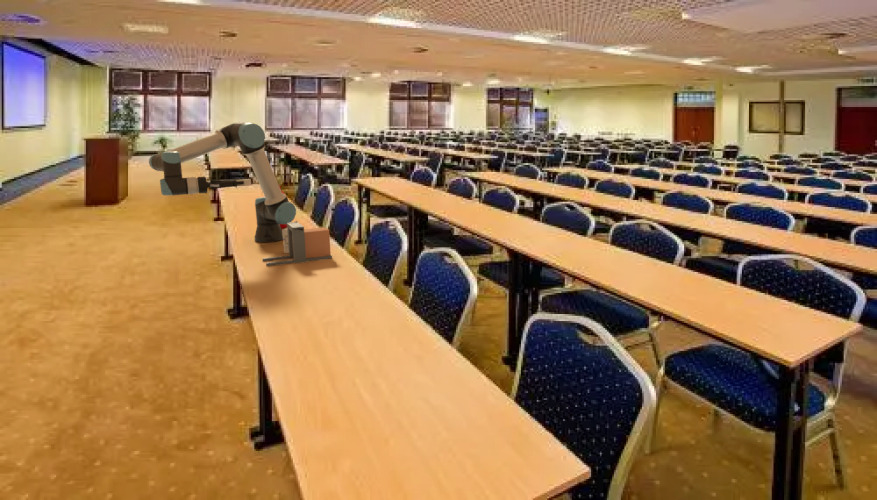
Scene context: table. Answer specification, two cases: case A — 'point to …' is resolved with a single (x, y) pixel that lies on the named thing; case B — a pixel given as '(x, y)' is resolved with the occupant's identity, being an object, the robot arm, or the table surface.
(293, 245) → the grey stand
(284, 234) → the ink cartridge box
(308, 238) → the brick
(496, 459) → the table surface
